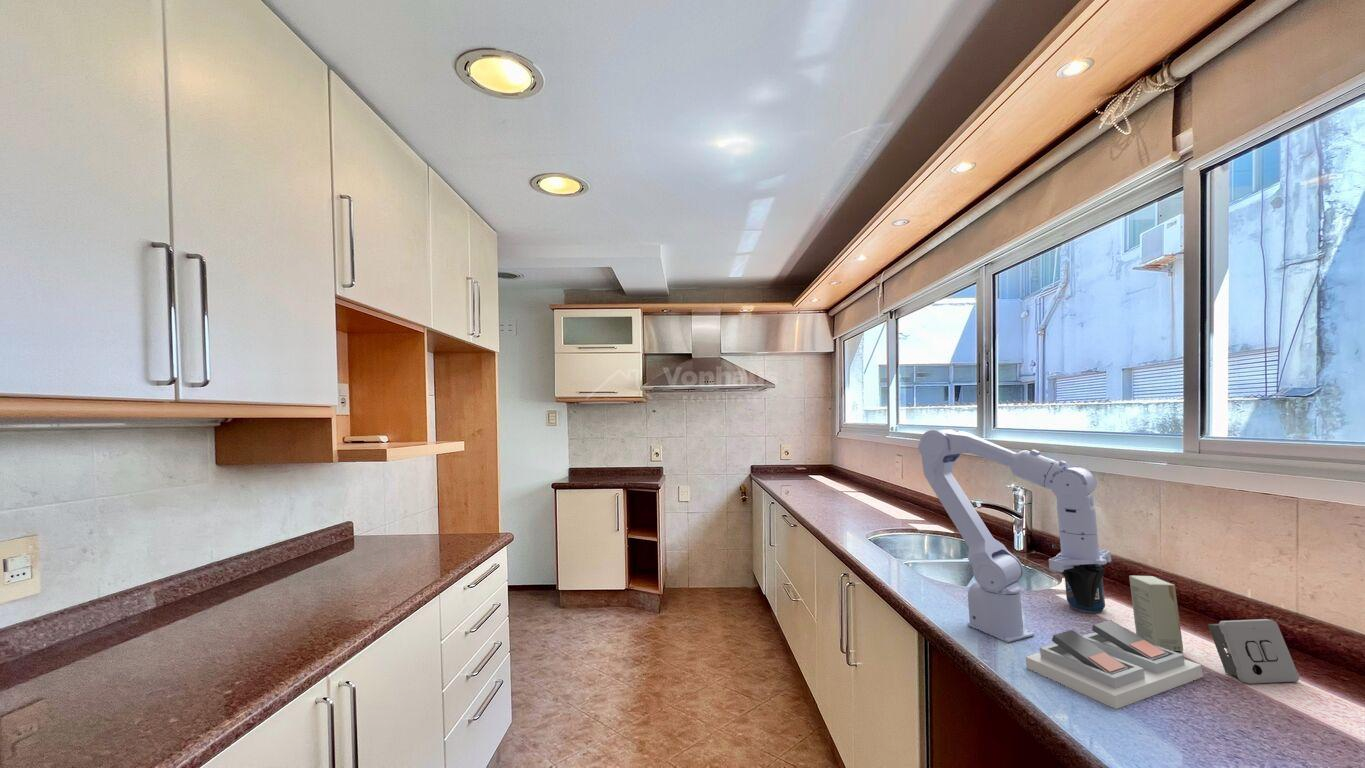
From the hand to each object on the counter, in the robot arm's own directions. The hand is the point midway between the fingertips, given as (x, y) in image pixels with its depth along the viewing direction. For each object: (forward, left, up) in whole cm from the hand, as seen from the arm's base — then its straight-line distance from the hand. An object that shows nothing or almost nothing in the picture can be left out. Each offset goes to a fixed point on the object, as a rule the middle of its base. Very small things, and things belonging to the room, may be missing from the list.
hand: (1084, 605), depth 93 cm
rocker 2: (+5, +3, -5) cm, 8 cm away
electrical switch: (+15, +17, -10) cm, 25 cm away
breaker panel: (+5, -2, -9) cm, 11 cm away
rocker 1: (+5, -8, -5) cm, 11 cm away
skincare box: (+2, +17, -10) cm, 20 cm away
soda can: (-15, +24, -10) cm, 30 cm away
